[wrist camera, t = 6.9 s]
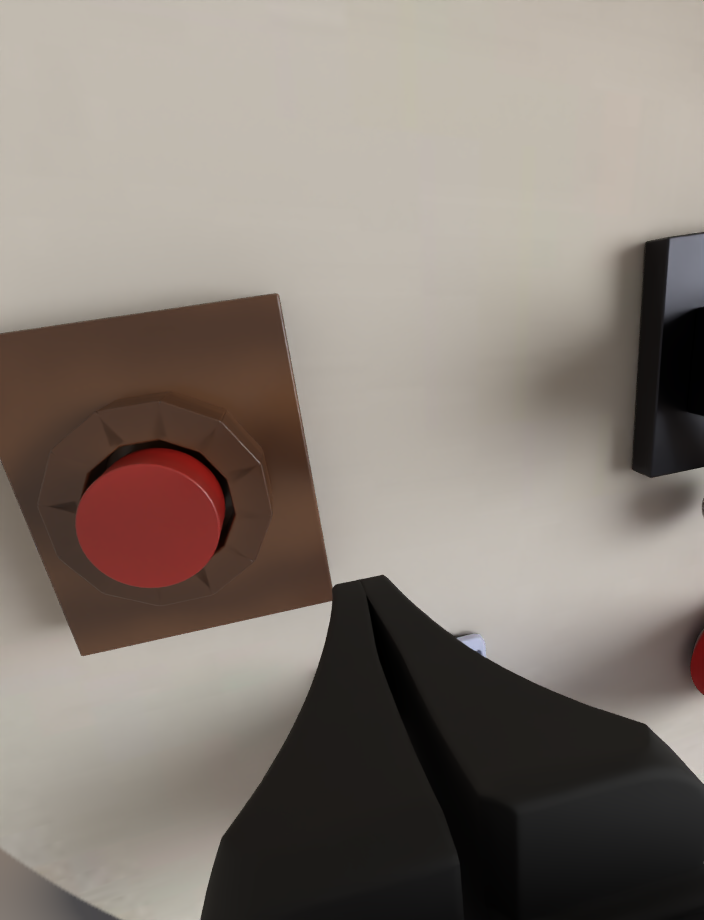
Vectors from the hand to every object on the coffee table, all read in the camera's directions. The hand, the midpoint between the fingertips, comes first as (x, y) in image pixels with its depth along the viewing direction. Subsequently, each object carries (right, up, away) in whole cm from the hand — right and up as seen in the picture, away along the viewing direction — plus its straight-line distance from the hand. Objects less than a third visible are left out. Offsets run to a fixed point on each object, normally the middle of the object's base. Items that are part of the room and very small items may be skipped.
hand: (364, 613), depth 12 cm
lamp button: (-6, +2, +4) cm, 8 cm away
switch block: (-7, +3, +7) cm, 10 cm away
